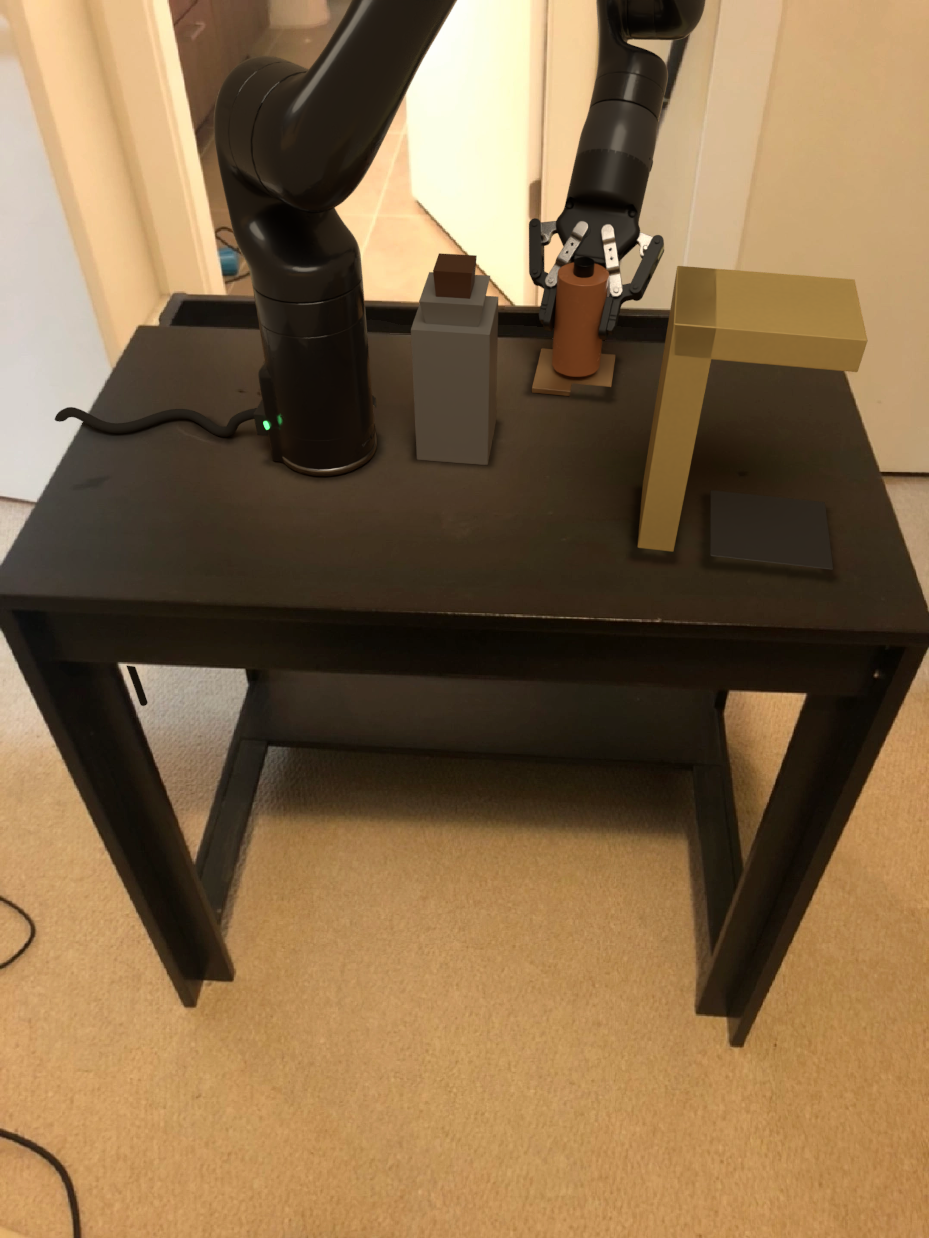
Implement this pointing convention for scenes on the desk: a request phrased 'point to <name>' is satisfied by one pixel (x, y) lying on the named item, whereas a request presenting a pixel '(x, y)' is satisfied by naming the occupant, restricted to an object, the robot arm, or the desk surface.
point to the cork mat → (561, 384)
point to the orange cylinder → (579, 317)
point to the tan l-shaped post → (754, 333)
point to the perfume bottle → (455, 363)
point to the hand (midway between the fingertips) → (575, 332)
